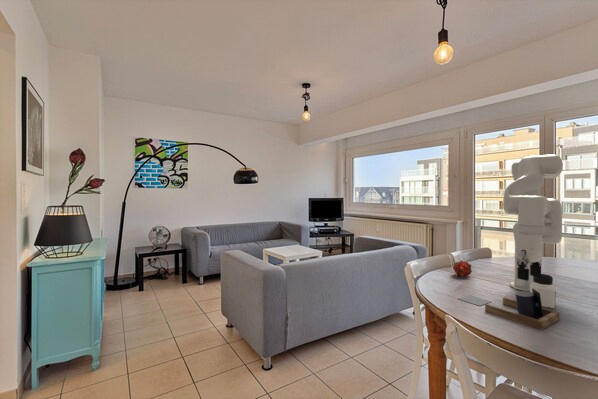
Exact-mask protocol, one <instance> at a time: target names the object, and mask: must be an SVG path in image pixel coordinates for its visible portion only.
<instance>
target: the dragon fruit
mask: <svg viewBox="0 0 598 399" xmlns="http://www.w3.org/2000/svg"><path fill="white" fill-rule="evenodd" d="M453 270H454V272H455V274H456V275H457V277H462V276H463V277H466V278H467V277H468V276H469V275H471V274H472V272H473V270H472V265H471V264H470V263H468V261H464V260H460V261H458V262H457V261H456V262H455V263H454V265H453Z"/></svg>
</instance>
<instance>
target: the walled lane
mask: <svg viewBox="0 0 598 399" xmlns="http://www.w3.org/2000/svg"><path fill="white" fill-rule="evenodd" d="M502 304H503V305H505V306H509V307H512V308H516V309H518V308H517V301H516V299H513V298H509V297H507V296H506V297H502ZM484 308H485V309H484V311H485V312H487V313H491V314H493V315H496V316H500V317H502V318H504V319H505V318H506V319H508V320H510V321H514V322H517V323H519V324H520V323H521V324H523V325H526V326H528V327H532V328H535V329H539V330H541V329H542V330H544V329H545V328H547V327H548V325H549V326H551V325H553V324H554V323H556V322H557V320H558V319H561V318H560V312H558V311H556V310H552V309H548V308H546V307H542V311H543V317H542V318H540V319H538V318H532V317H528V316H525V315H522V314H519V313H518V312H515V311H511V310H508V309H506V308H503V307H499V306H496V305H494V304H493V305H492V304H490V303H487V304H485V305H484ZM555 321H556V322H555ZM558 321H559V320H558ZM553 322H554V323H553ZM550 324H551V325H550ZM546 326H547V327H546Z"/></svg>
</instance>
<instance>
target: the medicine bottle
mask: <svg viewBox="0 0 598 399" xmlns="http://www.w3.org/2000/svg"><path fill="white" fill-rule="evenodd" d="M553 281H554V279H553V277H552V276H551V275H550V274H546V273H541V277H536V276H533V283H530V292H531V293H533V292H532V288H533V289H535V290H536V291H538V292H539V293H540V298H541V304H542V308H549V307H550V309H556V297H557V294H556V292H557V291H556V289H555V288H554V286H553Z"/></svg>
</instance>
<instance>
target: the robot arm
mask: <svg viewBox="0 0 598 399" xmlns="http://www.w3.org/2000/svg"><path fill="white" fill-rule="evenodd" d="M563 168H564V164H563V159H562V158H561V157H560V156H559V155H557V154H543V155H541V154H539V155H529V156H524V157H523V158H521V159H520V160H518V161H515V162H513V163H512V164H511V168H510V169H511V175H512V178H513V181H512V182H511V183H510V184H509V185H508V186H506V188H505V190H504V193H503V200H502V207H503V210H504V213H506V214H507V215H512V216H513V215H516V216H517V222H515V223H514V225H513V226H512V231H513V233H512V234H513V238H514V266H513V267H514V273H513V275H514V277H513V281H512V282H510V283H509V286H510V287H512V288H513V289H516V290H519V291H526V292H530V283H533V276H536V277H541V274H542V264H543V263H542V261H543V252H544V251H543V244H553V245H554V244H555V245H556V244H559V243H560V242H561V241H562V237H563V208H562V203H561V201H560V200H559V199H556V198H548V197H546V196H545V195H541V192H542V190H541V189H542V187H543V186H544V184H545V179H555V178H557V177H559V176H560V175H561V173H562V171H563ZM546 220H547V221H546Z"/></svg>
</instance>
